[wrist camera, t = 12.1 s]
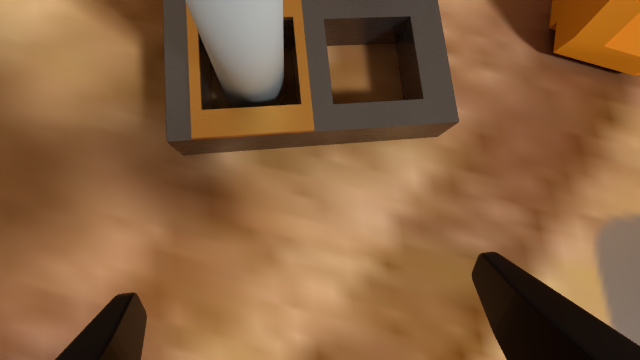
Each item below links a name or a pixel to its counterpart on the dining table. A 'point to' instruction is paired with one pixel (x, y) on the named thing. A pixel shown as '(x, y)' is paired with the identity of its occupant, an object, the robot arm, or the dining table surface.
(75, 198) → the dining table surface
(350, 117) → the grey boxy holed piece
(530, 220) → the dining table surface
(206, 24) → the peg
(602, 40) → the bracket
